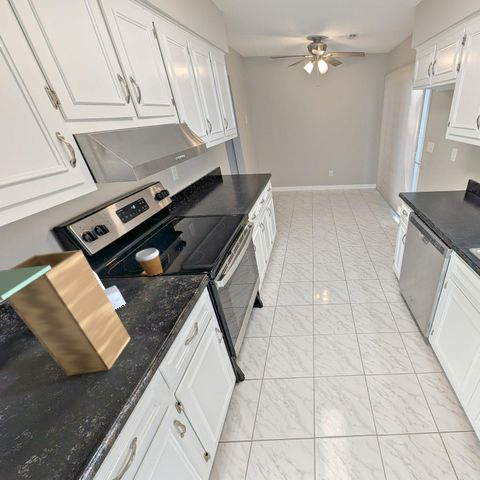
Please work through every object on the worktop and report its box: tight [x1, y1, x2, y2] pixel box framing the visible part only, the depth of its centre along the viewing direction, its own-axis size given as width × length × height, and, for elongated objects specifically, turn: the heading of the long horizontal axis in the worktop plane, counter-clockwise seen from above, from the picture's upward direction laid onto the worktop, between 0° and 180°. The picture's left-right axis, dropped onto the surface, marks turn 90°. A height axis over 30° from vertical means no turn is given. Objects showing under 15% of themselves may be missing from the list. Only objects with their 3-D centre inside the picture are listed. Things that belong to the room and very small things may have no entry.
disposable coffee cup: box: [135, 247, 163, 277], centre depth 121 cm, size 10×10×12 cm
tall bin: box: [5, 249, 131, 377], centre depth 73 cm, size 12×12×35 cm
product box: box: [104, 285, 127, 311], centre depth 102 cm, size 6×6×7 cm
